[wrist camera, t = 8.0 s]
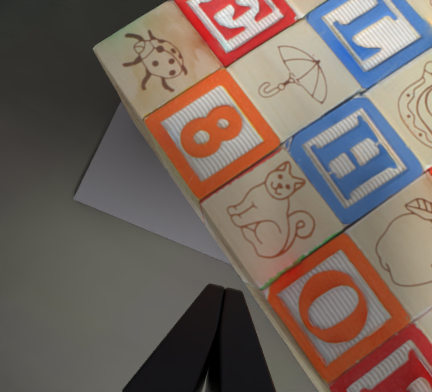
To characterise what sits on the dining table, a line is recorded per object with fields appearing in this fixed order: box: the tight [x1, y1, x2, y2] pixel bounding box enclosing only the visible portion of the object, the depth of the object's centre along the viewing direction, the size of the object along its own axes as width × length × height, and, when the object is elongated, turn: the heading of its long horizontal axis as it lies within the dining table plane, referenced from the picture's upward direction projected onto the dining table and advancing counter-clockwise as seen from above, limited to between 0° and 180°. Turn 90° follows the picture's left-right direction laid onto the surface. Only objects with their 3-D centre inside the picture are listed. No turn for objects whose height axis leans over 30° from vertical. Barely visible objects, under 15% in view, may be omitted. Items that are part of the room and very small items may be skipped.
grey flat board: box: [73, 101, 232, 265], centre depth 18 cm, size 10×16×1 cm, turn 68°
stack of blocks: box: [93, 0, 432, 392], centre depth 14 cm, size 21×6×12 cm
